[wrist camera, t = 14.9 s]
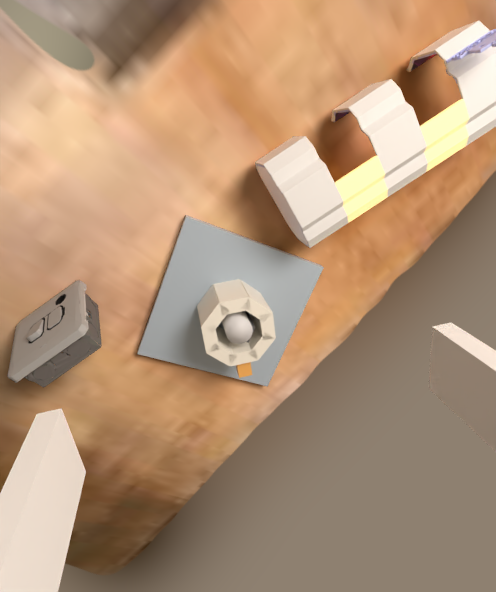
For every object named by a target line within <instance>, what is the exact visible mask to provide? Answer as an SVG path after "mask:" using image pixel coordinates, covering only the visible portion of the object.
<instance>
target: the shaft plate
mask: <svg viewBox="0 0 496 592" xmlns="http://www.w3.org/2000/svg"><path fill="white" fill-rule="evenodd" d="M323 268H324V267H322V266H321V265H320V264H317V263H314V262H311V261H309V260H306V259H303V258H301V257H298V256H295V255H293V254H290V253H287V252H284V251H282V250H279V249H276V248H274V247H271V246H268V245H266V244H263V243H260V242H258V241H255V240H252V239H249V238H247V237H244V236H241V235H239V234H236V233H233V232H231V231H228V230H225V229H222V228H220V227H217V226H214V225H212V224H209V223H206V222H204V221H201V220H198V219H195V218H193V217H190V216H187V215H185V218H184V221H183V224H182V226H181V229H180V232H179V235H178V238H177V241H176V243H175V246H174V249H173V252H172V255H171V257H170V260H169V263H168V266H167V269H166V272H165V274H164V277H163V280H162V283H161V286H160V288H159V291H158V294H157V297H156V300H155V303H154V305H153V308H152V311H151V314H150V317H149V320H148V322H147V325H146V328H145V331H144V334H143V336H142V339H141V342H140V345H139V348H138V353H137V354H139V355H143V356H147V357H151V358H155V359H159V360H163V361H167V362H171V363H175V364H179V365H183V366H187V367H191V368H196V369H200V370H204V371H208V372H212V373H216V374H220V375H224V376H228V377H232V378H236V379H240V380H244V381H248V382H252V383H256V384H260V385H264V386H268V384H269V382H270V380H271V378H272V376H273V374H274V372H275V369H276V367H277V365H278V363H279V361H280V359H281V357H282V355H283V352H284V350H285V348H286V346H287V344H288V342H289V340H290V338H291V336H292V333H293V331H294V329H295V327H296V325H297V323H298V321H299V319H300V316H301V314H302V312H303V310H304V308H305V306H306V304H307V302H308V299H309V297H310V295H311V293H312V291H313V289H314V287H315V285H316V283H317V280H318V278H319V276H320V274H321V272H322V270H323ZM237 279H241V280H242V281H244V282H245V283H247V284H248V285H250V286H251V287H253V288H254V289H256V290H257V291H258V292H260V293H261V295H262V296H263V298H264V299H265V301H266V303H267V304H268V306H269V307H270V309H271V310H272V312H273V318H274V327H275V335H276V338H275V340H274V341H273V343H272V344H271V345H270V346H269V348H268V349H267V350H266V351H265V353H264V354H263V355H262V356H261V358H260V359H259V360H258V361H253V362H251V369H252V375H250V376H246V377H241V378H239V376H238V373H237V370H236V365H235V366H228V365H226V364H225V363H223V362H221V361H219V360H217V359H216V358H214V357H212V356H210V355H208V354H207V353H206V349H205V344H204V339H203V334H202V329H201V324H200V319H199V314H198V309H197V305H198V303H199V302H200V301H201V299H202V298H203V297H204V295H205V294H206V292H207V291H208V290H209V288H210V287H211V286H212V284H216V283H221V282H226V281H231V280H237ZM251 315H252V314H250V313H249V312H247V311H241V312H236V313H231V314H227V315H226V316H225V318H224V319H223V320H222V321H221V323H220V324H219V325H218V326H219V327H220V328H222V329H224V330H225V333H226V336H227V338H228V340H229V341H231V342H232V343H235V344H242V343H245V342H248V343H249V341H250V339H251V336H252V334H253V332H254V329H255V325H254V323H253V321H252V319H251V317H250V316H251Z"/></svg>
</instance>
